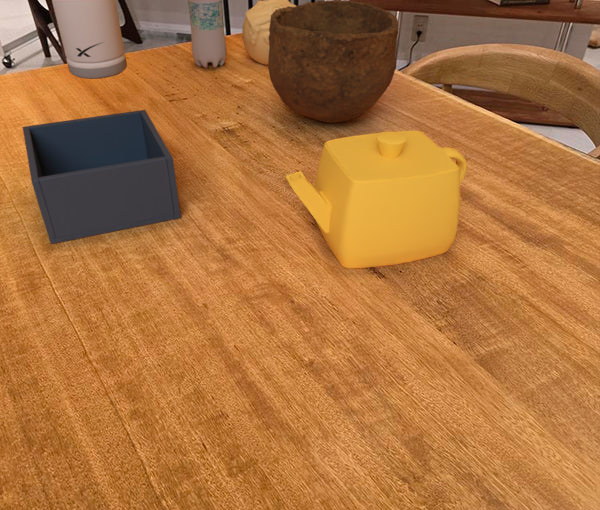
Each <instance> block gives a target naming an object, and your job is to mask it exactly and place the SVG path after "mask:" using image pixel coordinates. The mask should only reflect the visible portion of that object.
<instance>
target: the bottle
mask: <svg viewBox="0 0 600 510" xmlns="http://www.w3.org/2000/svg"><path fill="white" fill-rule="evenodd" d="M187 2H188V12H189V13H188V15H189V23H190V34H191V35H190V37H191V38H190V39H191V40H190V41H191V55H192V57H193V61H194V62H195V65H197V66H198V67H201V66H202V67H203V68H205V69H207V68H208V67H209V63H211V64H212V67H213V68H214V69H215V68H217V67H218V66H223V65H224V64H225V63H226V60H227V43H226V36H225V27H224V9H223V0H187Z"/></svg>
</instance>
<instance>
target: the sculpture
mask: <svg viewBox="0 0 600 510" xmlns="http://www.w3.org/2000/svg"><path fill="white" fill-rule="evenodd" d="M288 6H289V7H296V6H297V5H296V4H294V3H292V2H291V1H290V0H257V2H256V3H255V5H254V6H252V7H251V8H249V9H247V11H246V12H244V16H245V17H244V20H243V24H242V31H241V32H242V33H241V34H242V42H243V46H244V48H245V50H246V52H247V54H248V56H249V57H250V58H251V59H252V60H254V62H257V63H259V64H262V65H265V66H268V60H269V34H270V31H269V27H270V20H271V15H272V14H273V12H275V10H277V9H279V8H286V7H288Z"/></svg>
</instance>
